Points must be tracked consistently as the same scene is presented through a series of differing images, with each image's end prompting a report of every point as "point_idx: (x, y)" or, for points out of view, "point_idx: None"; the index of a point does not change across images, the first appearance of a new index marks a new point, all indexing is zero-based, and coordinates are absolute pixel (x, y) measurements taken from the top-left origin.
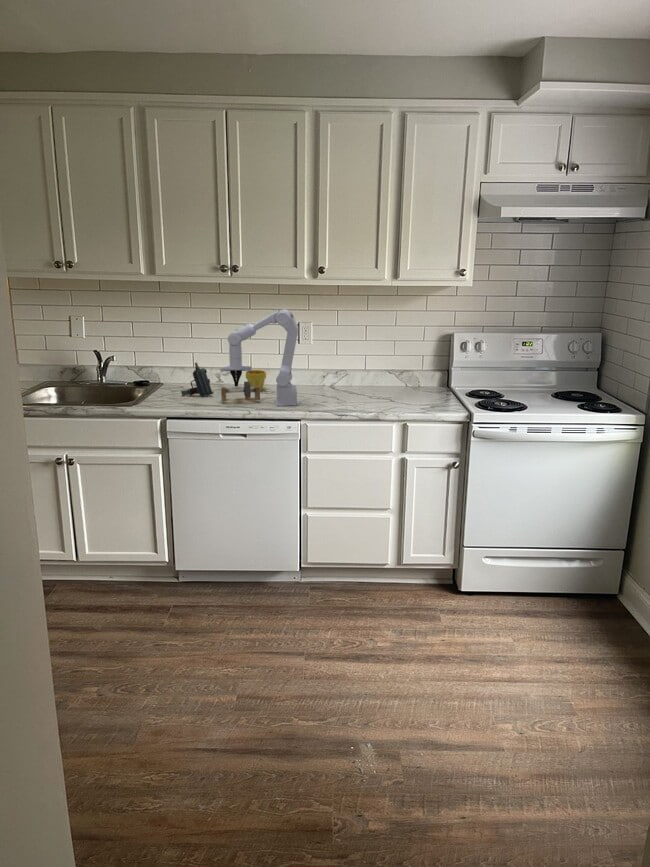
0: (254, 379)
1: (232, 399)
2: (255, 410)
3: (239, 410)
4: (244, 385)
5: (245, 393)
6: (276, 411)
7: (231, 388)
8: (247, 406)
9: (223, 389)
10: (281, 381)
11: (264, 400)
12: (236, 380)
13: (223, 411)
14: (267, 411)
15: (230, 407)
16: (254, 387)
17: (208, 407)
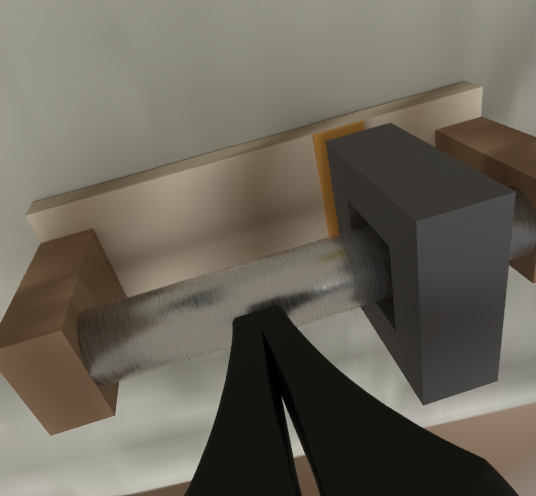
0: None
1: (181, 228)
2: (401, 407)
3: (291, 431)
4: (393, 268)
5: (366, 314)
6: (527, 395)
7: (189, 359)
8: (345, 333)
9: (81, 418)
10: None
11: (517, 104)
12: (292, 410)
13: (180, 473)
14: (474, 407)
15: (207, 385)
16: (522, 253)
17: (8, 424)
